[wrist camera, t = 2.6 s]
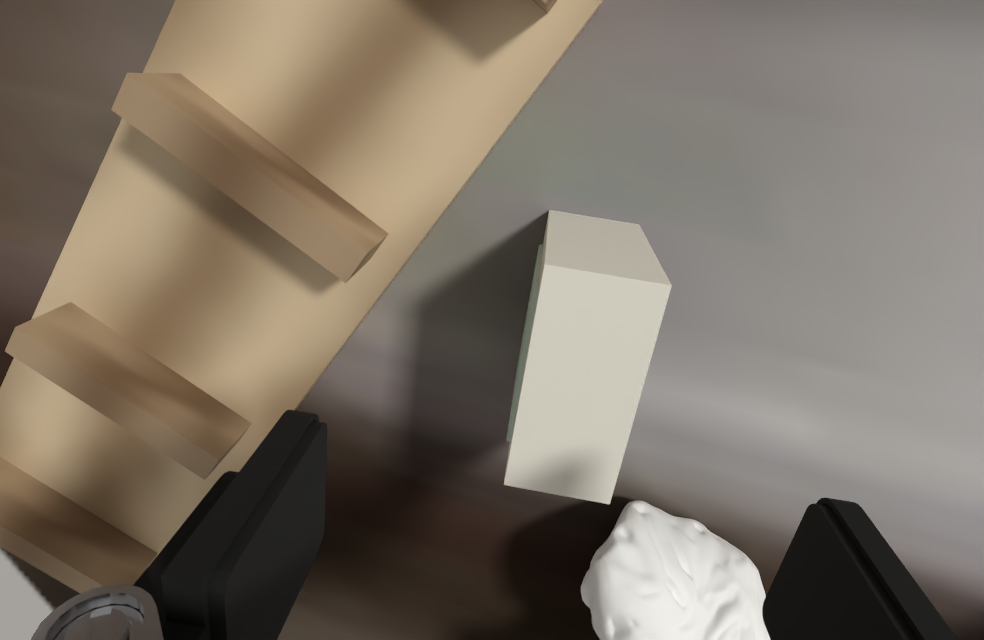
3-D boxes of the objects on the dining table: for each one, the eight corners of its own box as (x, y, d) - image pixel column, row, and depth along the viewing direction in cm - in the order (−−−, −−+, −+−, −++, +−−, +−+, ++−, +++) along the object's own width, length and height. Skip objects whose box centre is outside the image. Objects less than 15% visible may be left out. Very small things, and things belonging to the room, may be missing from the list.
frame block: (638, 224, 20) (671, 285, 14) (596, 394, 23) (609, 504, 17) (544, 209, 20) (538, 263, 14) (514, 379, 23) (498, 483, 17)
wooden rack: (599, 7, 18) (610, -13, 14) (191, 546, 29) (131, 623, 25) (330, -238, 16) (254, -342, 12) (8, 433, 27) (-88, 495, 23)
